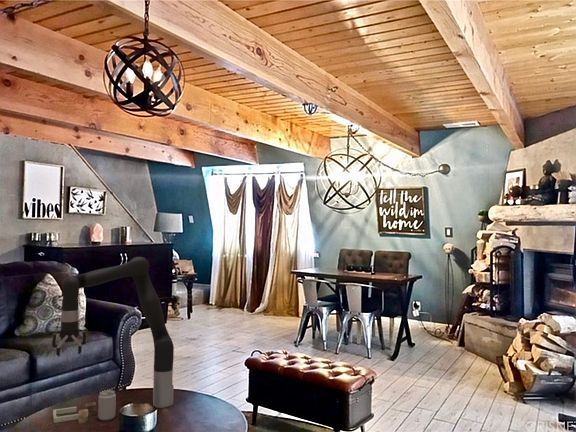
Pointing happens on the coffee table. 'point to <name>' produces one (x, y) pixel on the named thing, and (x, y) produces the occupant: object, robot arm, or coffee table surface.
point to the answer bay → (65, 418)
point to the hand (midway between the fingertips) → (68, 355)
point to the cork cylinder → (83, 416)
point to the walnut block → (91, 408)
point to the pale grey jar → (106, 405)
